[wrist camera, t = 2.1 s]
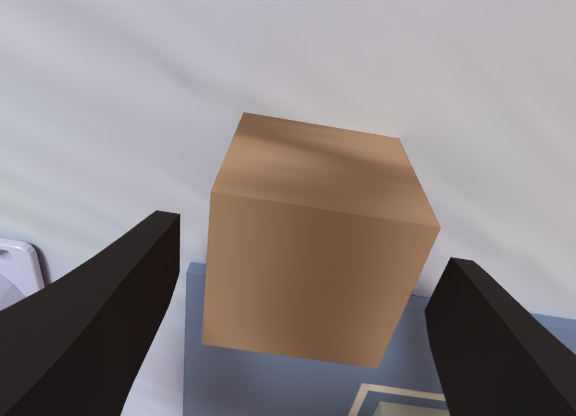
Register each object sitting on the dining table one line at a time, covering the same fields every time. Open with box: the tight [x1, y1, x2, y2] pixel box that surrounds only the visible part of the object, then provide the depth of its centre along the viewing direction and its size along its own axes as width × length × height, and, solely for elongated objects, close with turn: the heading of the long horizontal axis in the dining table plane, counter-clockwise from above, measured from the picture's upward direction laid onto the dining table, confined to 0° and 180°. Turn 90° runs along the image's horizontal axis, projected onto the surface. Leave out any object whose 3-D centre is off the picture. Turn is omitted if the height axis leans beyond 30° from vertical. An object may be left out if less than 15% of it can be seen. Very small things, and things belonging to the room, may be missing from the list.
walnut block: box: [202, 112, 441, 369], centre depth 12 cm, size 5×5×5 cm
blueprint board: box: [183, 262, 576, 416], centre depth 20 cm, size 18×16×1 cm
